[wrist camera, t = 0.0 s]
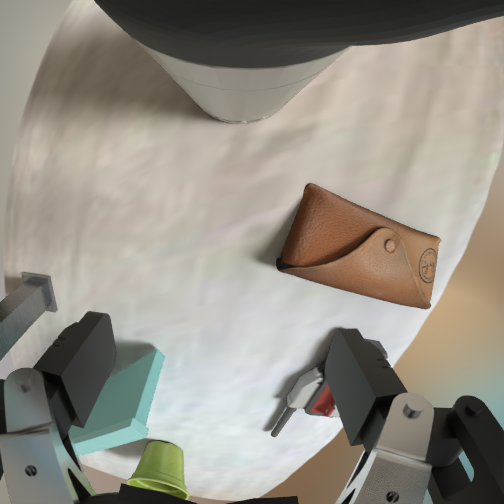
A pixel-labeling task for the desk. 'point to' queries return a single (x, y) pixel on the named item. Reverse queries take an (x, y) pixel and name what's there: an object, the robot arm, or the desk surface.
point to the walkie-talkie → (313, 395)
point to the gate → (121, 407)
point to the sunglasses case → (359, 251)
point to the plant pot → (161, 470)
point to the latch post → (24, 308)
